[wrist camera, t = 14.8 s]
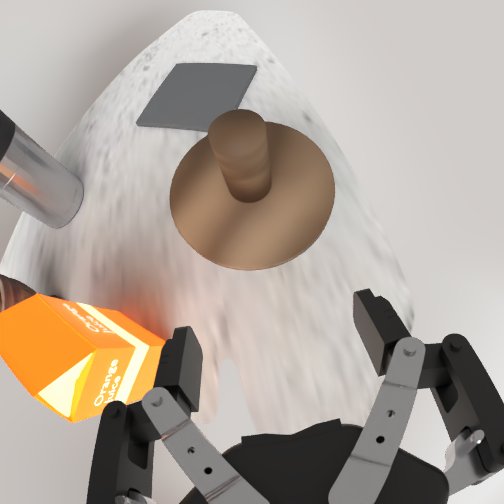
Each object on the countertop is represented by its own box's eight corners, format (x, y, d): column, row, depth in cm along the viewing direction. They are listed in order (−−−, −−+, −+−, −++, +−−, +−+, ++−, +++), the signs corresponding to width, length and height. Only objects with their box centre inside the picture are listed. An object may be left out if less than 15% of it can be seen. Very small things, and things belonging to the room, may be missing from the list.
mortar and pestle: (27, 339, 33) (-71, 324, 14) (30, 288, 36) (-64, 256, 17) (72, 352, 32) (-45, 346, 13) (75, 293, 34) (-38, 256, 15)
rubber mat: (138, 126, 41) (135, 122, 40) (178, 67, 45) (176, 63, 44) (225, 134, 38) (224, 129, 37) (257, 69, 42) (256, 65, 41)
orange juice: (117, 309, 33) (-10, 278, 14) (172, 344, 31) (46, 347, 12) (97, 360, 31) (-28, 361, 12) (148, 397, 30) (26, 438, 10)
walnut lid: (152, 246, 24) (99, 208, 16) (206, 121, 27) (184, 62, 19) (312, 290, 21) (328, 266, 13) (343, 145, 24) (358, 81, 17)
